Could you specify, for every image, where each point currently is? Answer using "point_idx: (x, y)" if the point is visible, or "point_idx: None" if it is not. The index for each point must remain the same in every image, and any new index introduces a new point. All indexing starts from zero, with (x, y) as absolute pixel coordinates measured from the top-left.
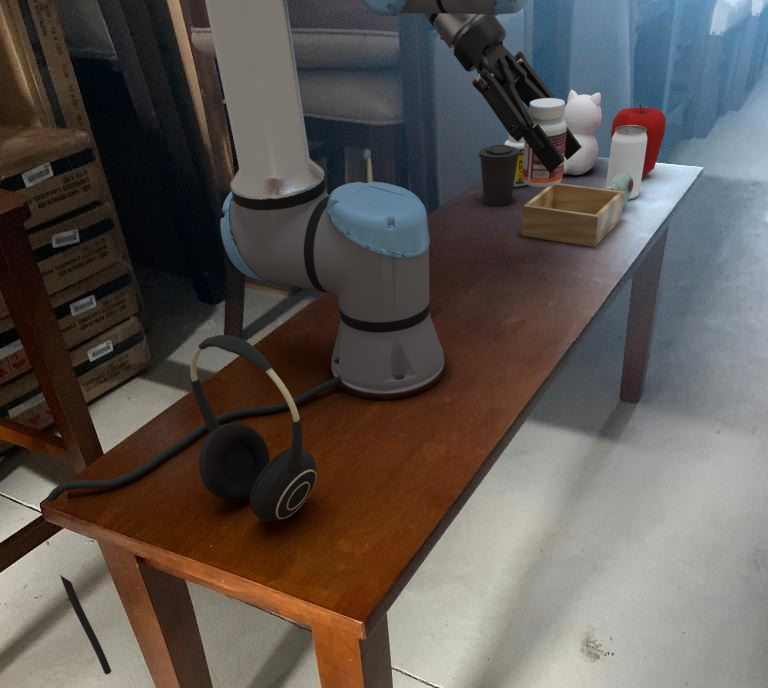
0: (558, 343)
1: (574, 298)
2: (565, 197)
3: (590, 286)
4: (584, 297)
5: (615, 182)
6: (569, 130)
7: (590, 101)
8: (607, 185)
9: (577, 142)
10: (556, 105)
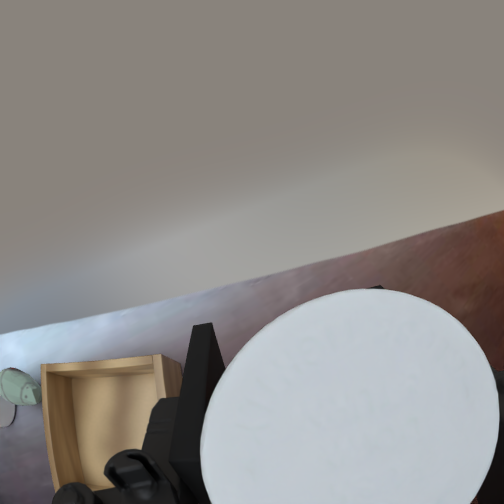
0: (456, 233)
1: (367, 283)
2: (68, 467)
3: (320, 288)
4: (355, 275)
5: (20, 390)
6: (186, 373)
7: None
8: (1, 421)
9: (198, 336)
10: (413, 305)
